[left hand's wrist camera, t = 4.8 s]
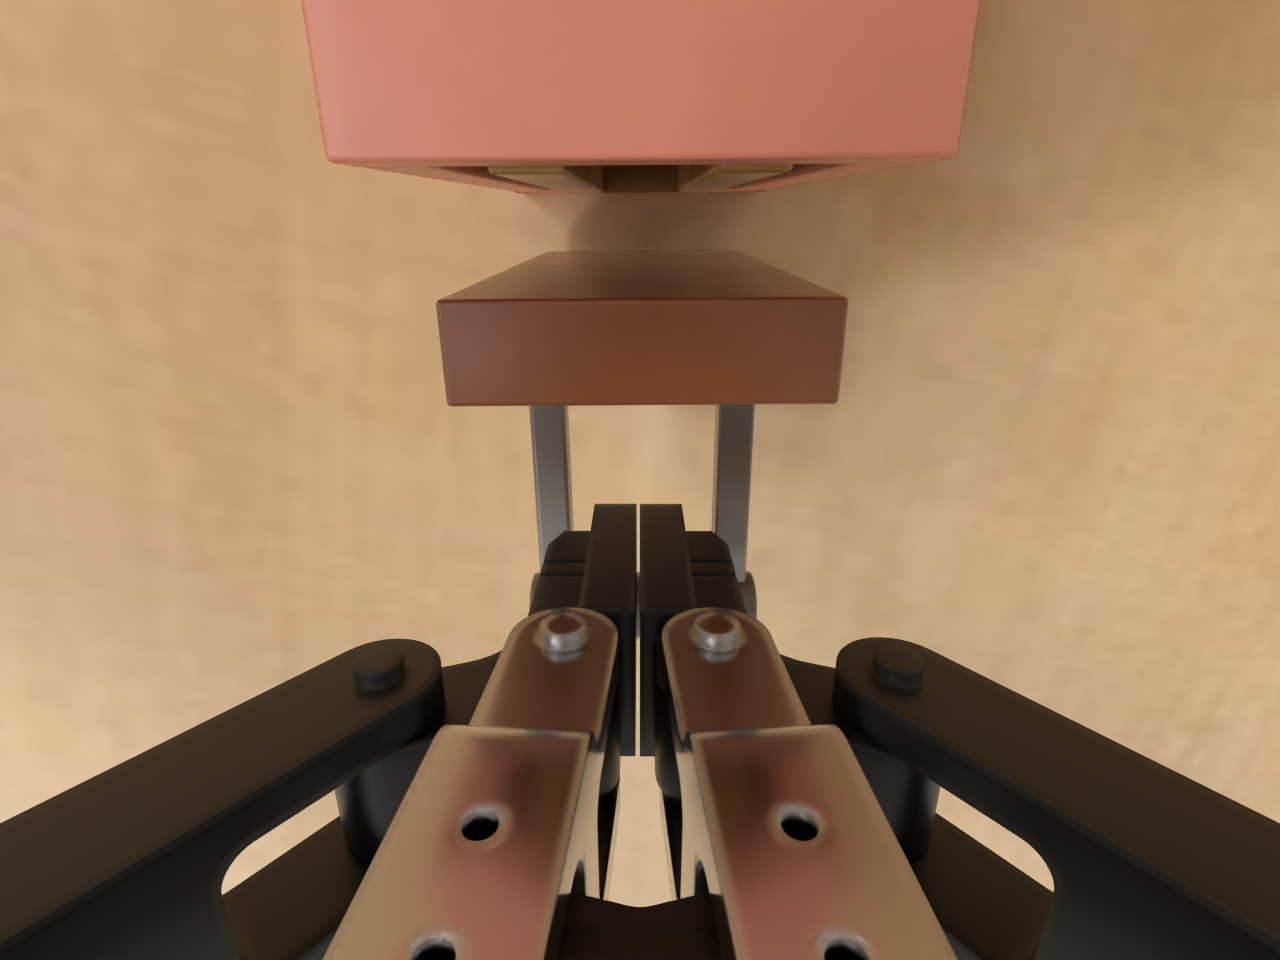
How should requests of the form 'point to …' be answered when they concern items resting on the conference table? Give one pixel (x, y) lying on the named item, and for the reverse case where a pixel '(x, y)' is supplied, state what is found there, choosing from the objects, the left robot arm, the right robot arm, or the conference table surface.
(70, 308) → the conference table surface
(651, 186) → the drawer
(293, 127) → the conference table surface
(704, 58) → the cabinet
